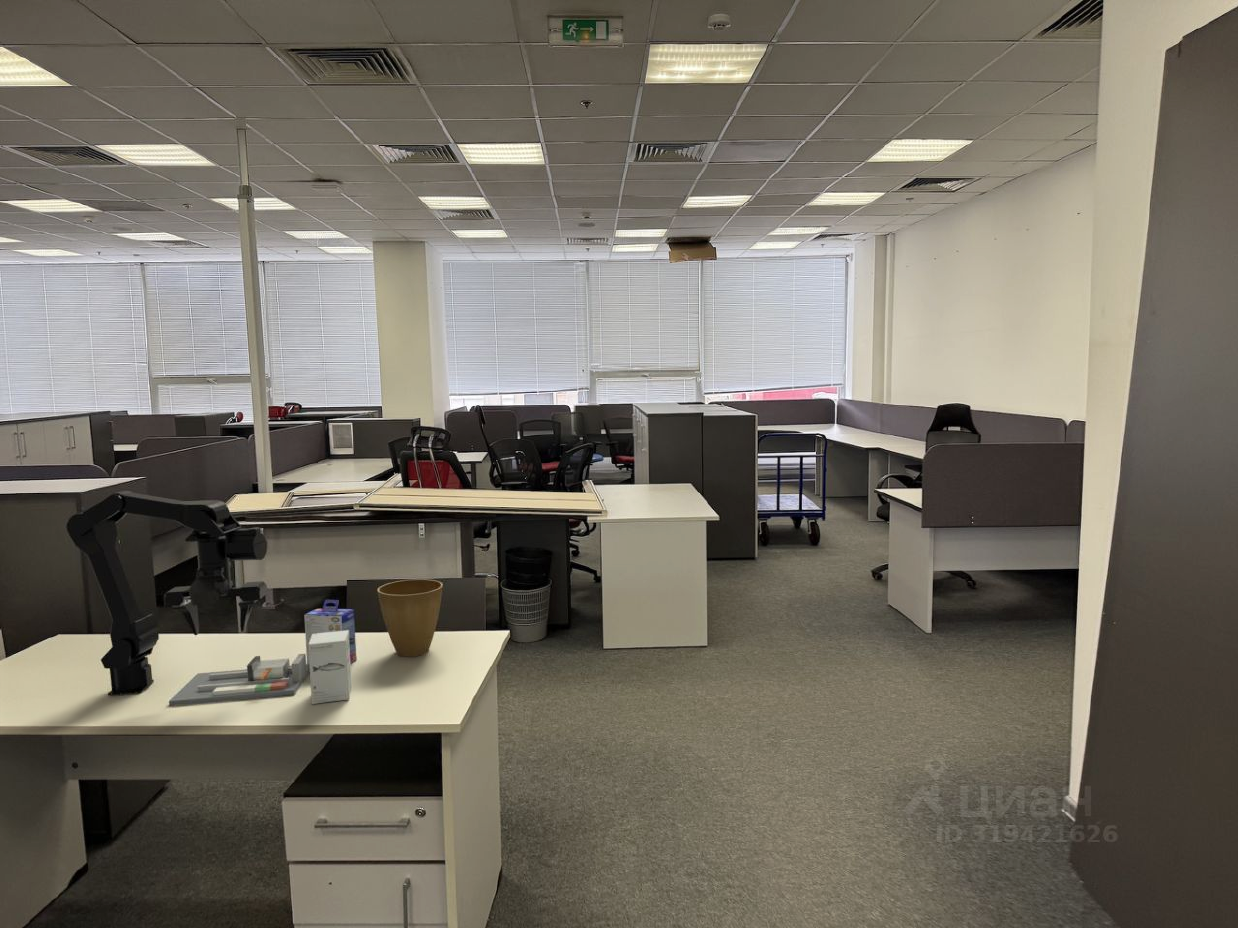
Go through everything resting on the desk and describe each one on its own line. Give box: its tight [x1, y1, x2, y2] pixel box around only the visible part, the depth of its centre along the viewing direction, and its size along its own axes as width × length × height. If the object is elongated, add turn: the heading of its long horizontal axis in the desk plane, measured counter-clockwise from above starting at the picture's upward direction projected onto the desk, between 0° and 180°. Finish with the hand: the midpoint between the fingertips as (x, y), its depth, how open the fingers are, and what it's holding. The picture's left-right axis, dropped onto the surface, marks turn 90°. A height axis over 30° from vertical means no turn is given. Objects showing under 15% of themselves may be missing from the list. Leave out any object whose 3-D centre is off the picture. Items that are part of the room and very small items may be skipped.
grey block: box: [246, 655, 291, 681], centre depth 158 cm, size 7×10×4 cm
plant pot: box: [377, 578, 444, 658], centre depth 177 cm, size 15×15×16 cm
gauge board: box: [168, 653, 310, 707], centre depth 160 cm, size 24×15×5 cm, turn 100°
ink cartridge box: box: [303, 599, 357, 664], centre depth 172 cm, size 10×6×14 cm, turn 78°
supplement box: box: [308, 630, 352, 705], centre depth 153 cm, size 7×7×13 cm
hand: (219, 632), depth 158 cm, fingers open, 9 cm apart
